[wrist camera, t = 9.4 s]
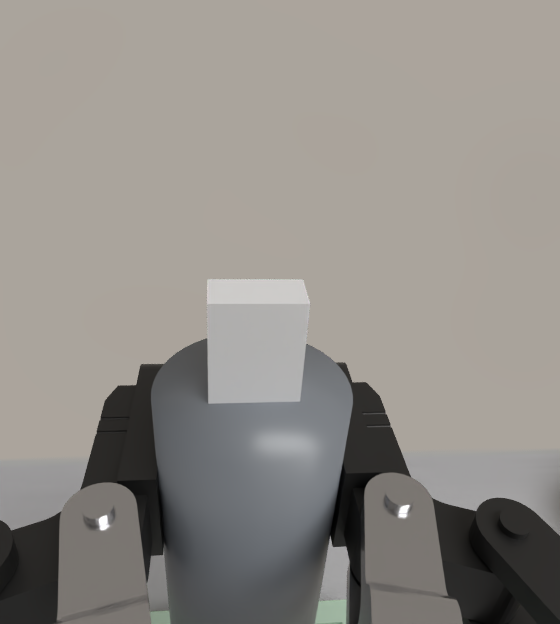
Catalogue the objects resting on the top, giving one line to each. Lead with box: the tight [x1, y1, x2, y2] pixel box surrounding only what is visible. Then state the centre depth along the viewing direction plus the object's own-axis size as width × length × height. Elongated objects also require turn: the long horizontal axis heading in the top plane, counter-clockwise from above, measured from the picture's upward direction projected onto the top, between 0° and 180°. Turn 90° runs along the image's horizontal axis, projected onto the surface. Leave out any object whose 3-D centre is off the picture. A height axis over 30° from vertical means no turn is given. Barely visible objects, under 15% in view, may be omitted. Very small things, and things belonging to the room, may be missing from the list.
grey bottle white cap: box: [151, 279, 353, 624], centre depth 11 cm, size 4×4×11 cm
